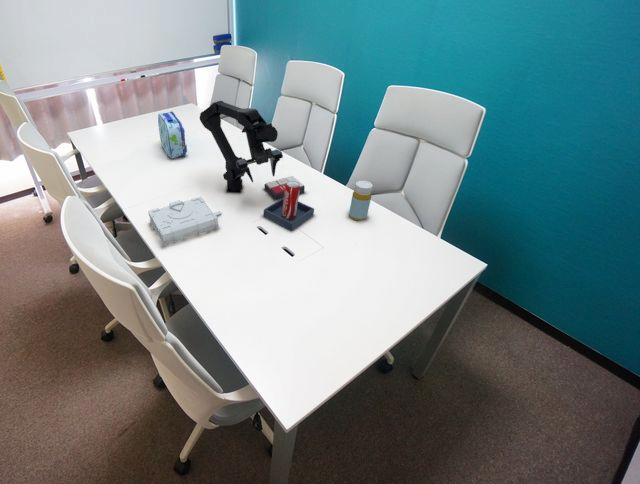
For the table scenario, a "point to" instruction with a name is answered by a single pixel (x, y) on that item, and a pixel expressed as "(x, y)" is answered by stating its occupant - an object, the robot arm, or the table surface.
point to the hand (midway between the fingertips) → (263, 179)
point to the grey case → (183, 220)
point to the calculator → (280, 187)
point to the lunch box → (172, 135)
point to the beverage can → (290, 200)
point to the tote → (276, 216)
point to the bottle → (360, 200)
